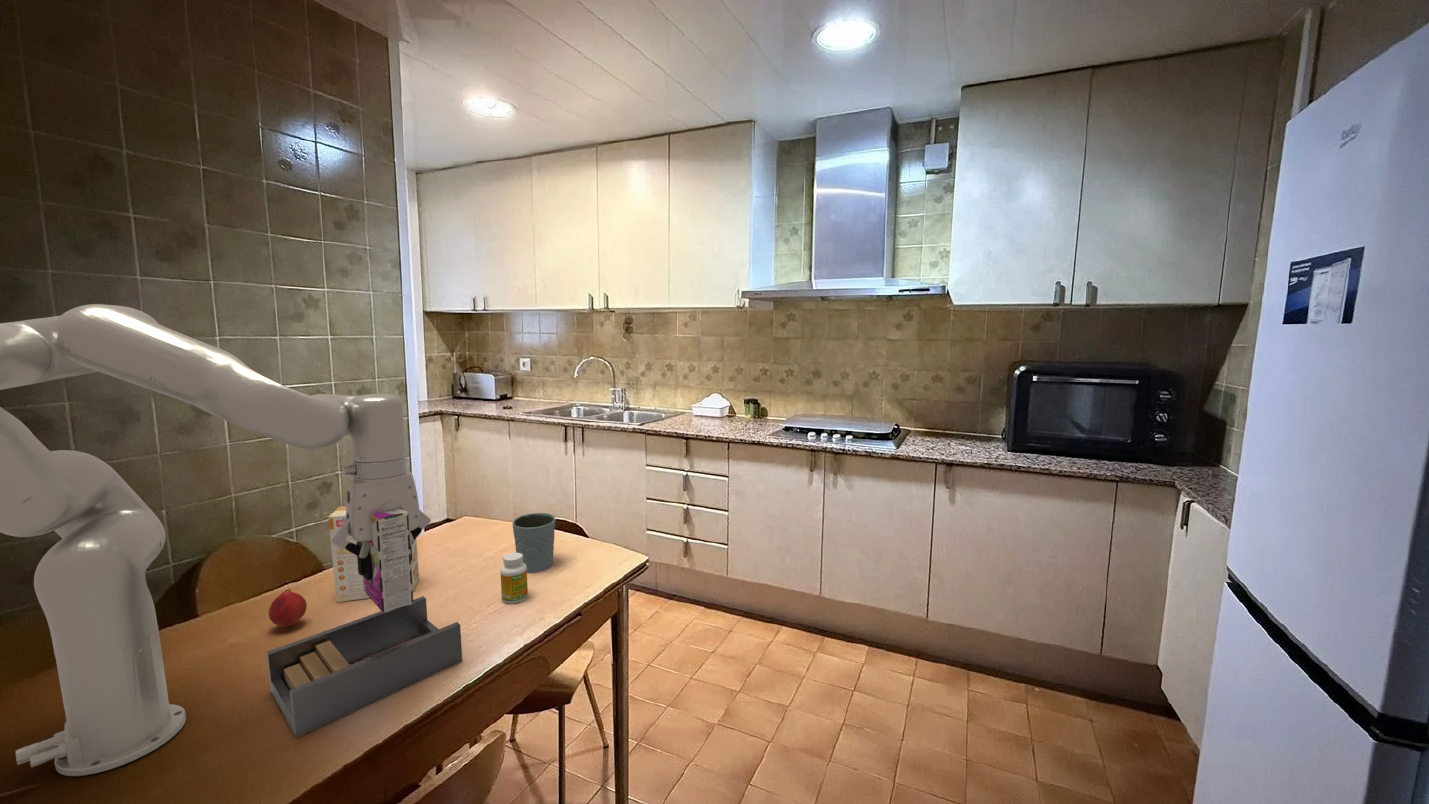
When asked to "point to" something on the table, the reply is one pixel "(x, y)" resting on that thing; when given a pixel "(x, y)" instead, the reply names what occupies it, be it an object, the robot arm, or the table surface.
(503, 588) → the supplement bottle
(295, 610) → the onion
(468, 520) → the table surface
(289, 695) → the rack
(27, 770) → the table surface
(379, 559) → the candy bar box
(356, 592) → the coffeecake box
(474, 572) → the table surface
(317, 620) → the table surface
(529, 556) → the grey green cup
